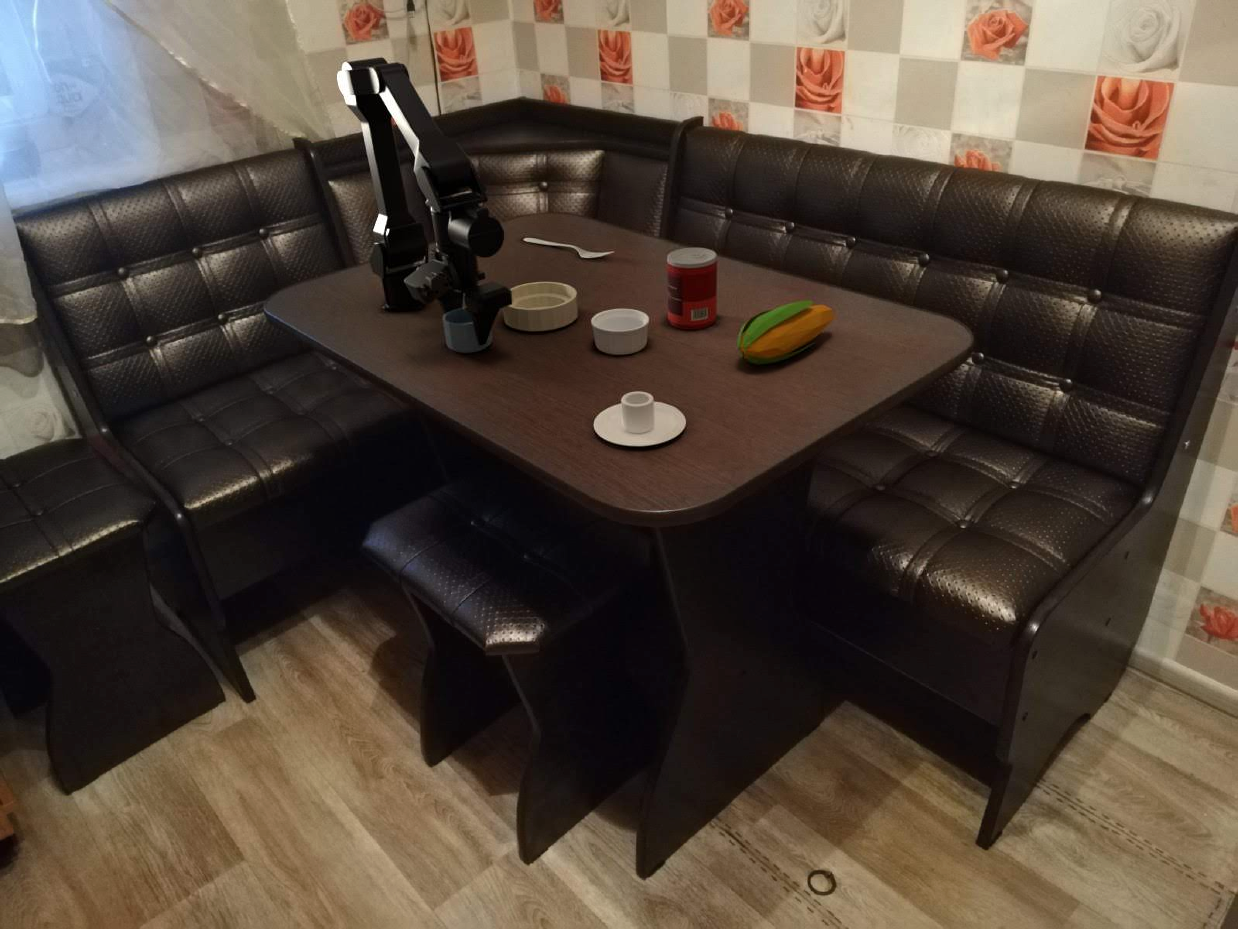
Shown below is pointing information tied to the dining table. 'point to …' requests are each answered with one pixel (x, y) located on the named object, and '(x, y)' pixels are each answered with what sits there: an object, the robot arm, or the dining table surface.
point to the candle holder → (639, 421)
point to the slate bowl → (462, 332)
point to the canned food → (692, 288)
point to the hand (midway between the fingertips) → (469, 337)
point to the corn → (782, 331)
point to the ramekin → (620, 331)
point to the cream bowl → (541, 306)
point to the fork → (582, 252)
